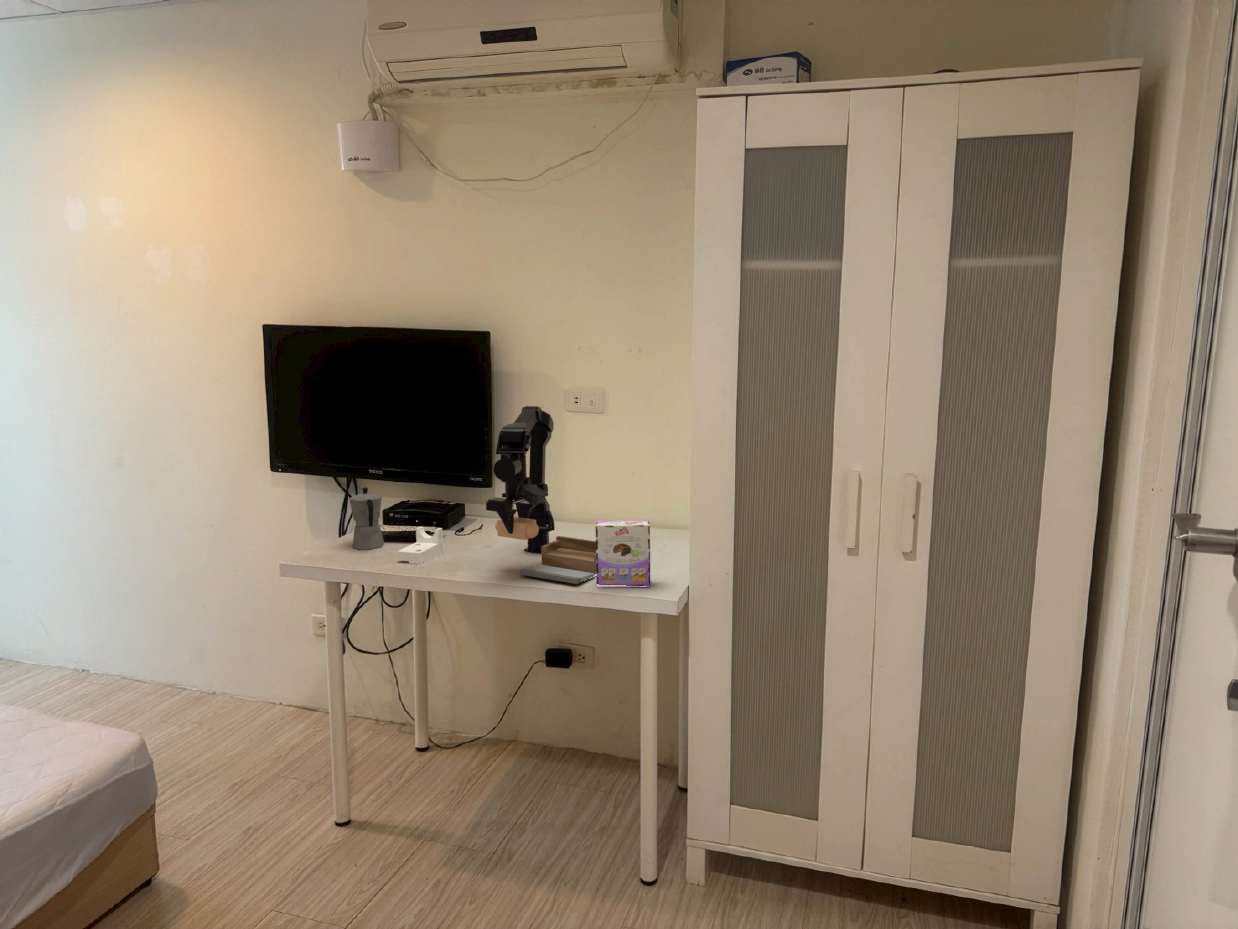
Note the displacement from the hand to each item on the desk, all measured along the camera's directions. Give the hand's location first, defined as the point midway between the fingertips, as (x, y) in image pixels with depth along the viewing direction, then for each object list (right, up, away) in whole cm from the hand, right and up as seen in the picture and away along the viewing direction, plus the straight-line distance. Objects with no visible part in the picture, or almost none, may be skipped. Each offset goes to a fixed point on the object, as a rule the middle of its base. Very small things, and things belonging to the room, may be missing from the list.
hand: (517, 531), depth 234 cm
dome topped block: (0, -1, 0) cm, 1 cm away
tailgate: (+13, -11, 0) cm, 17 cm away
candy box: (+28, -13, -9) cm, 33 cm away
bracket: (-30, -9, +17) cm, 35 cm away
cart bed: (+16, -10, +5) cm, 20 cm away
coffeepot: (-48, -7, +29) cm, 56 cm away
